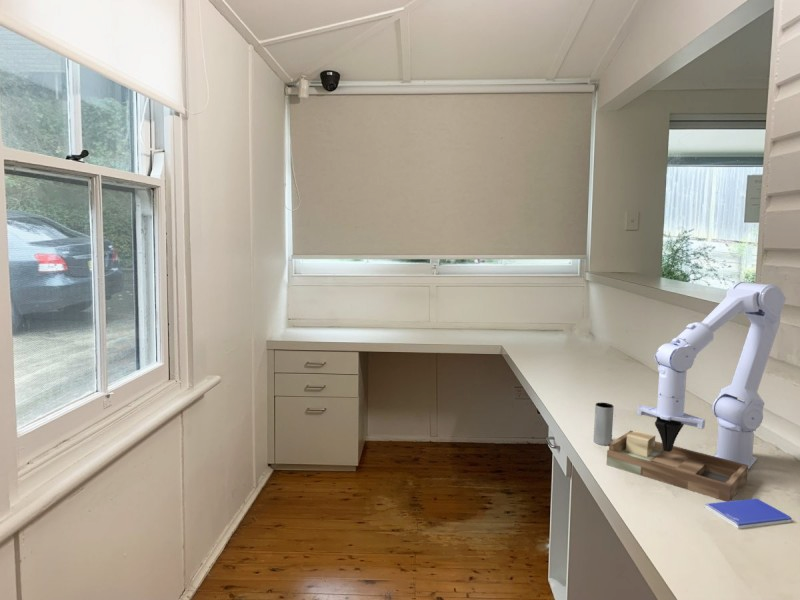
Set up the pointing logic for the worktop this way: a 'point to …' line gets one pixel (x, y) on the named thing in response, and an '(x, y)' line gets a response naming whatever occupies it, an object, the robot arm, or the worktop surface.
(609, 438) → the planter
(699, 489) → the tray
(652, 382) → the worktop surface
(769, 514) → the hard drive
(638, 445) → the maple block
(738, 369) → the robot arm
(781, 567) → the worktop surface
